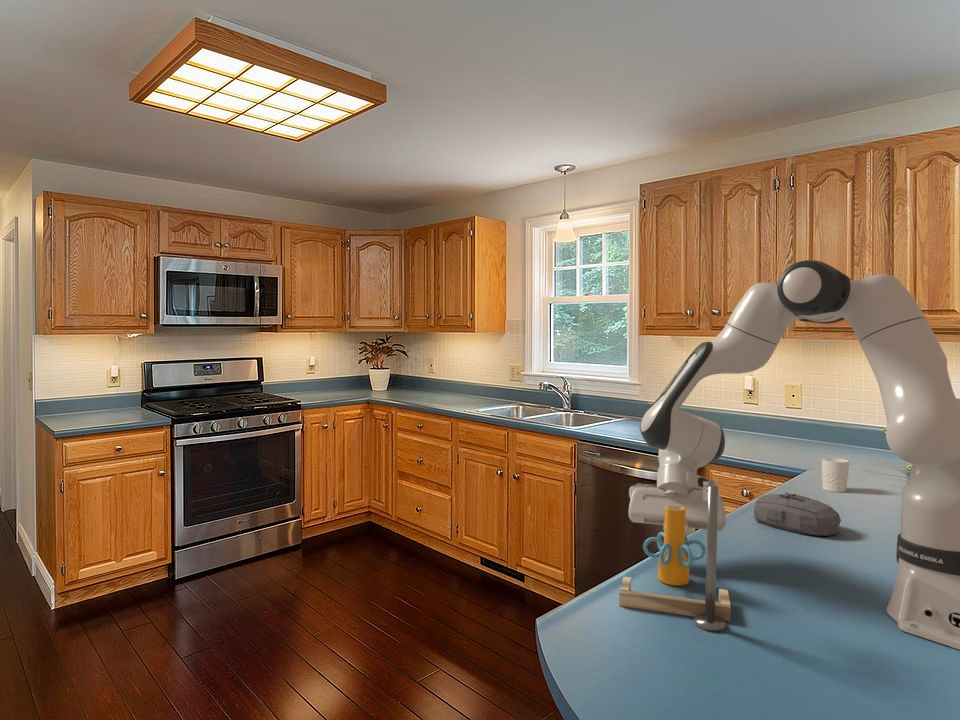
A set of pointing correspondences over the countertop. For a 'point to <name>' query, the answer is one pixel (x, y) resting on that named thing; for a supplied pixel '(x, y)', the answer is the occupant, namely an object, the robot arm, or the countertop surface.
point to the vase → (674, 548)
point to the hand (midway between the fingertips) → (675, 543)
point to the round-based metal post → (710, 561)
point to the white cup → (834, 474)
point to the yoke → (671, 602)
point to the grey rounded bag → (796, 514)
